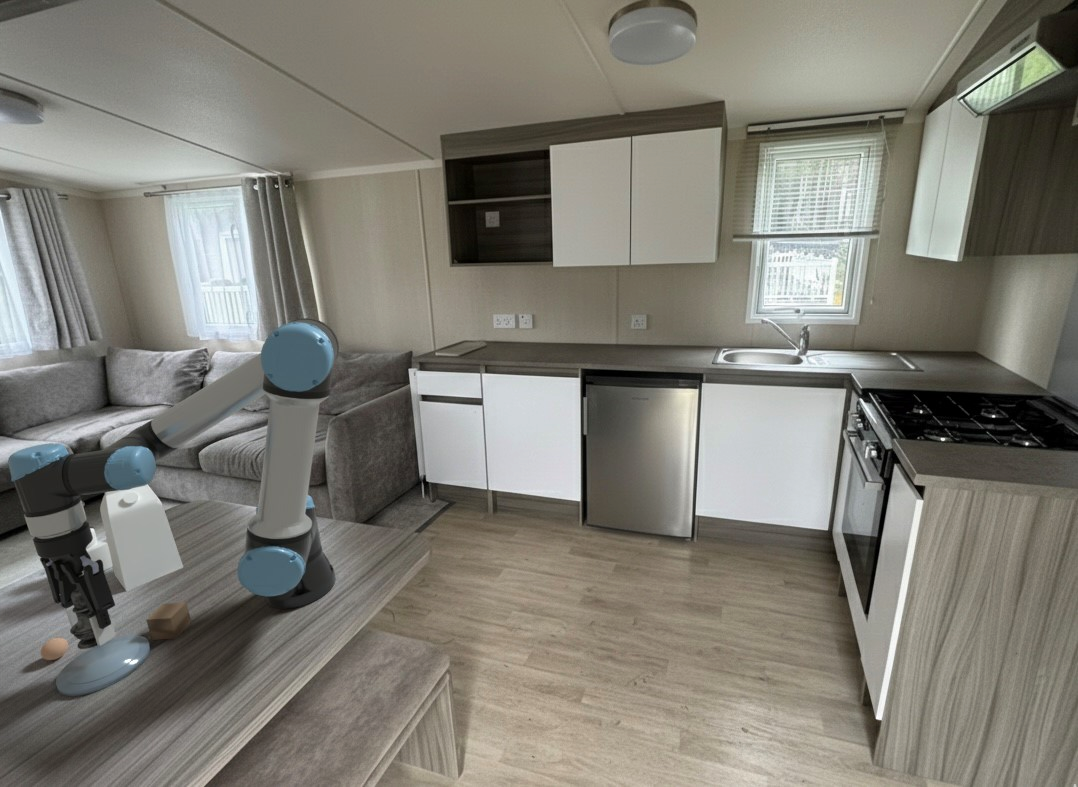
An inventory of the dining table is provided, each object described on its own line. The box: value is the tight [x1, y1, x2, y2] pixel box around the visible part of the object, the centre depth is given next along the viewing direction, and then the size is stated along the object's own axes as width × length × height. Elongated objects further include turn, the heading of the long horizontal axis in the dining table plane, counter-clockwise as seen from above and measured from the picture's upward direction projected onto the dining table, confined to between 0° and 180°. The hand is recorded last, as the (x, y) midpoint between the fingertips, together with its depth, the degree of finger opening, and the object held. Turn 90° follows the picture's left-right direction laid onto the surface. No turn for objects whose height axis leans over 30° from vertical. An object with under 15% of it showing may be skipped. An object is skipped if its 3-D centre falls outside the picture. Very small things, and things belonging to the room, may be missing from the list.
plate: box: [55, 634, 151, 697], centre depth 99 cm, size 14×14×1 cm
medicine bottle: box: [78, 526, 113, 577], centre depth 131 cm, size 7×7×12 cm
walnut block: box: [145, 602, 192, 641], centre depth 107 cm, size 5×5×5 cm
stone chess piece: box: [69, 587, 111, 650], centre depth 96 cm, size 6×6×12 cm
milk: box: [99, 484, 184, 592], centre depth 128 cm, size 12×12×26 cm
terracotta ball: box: [40, 637, 69, 661], centre depth 101 cm, size 4×4×4 cm
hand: (95, 637), depth 97 cm, fingers closed on stone chess piece, 6 cm apart
